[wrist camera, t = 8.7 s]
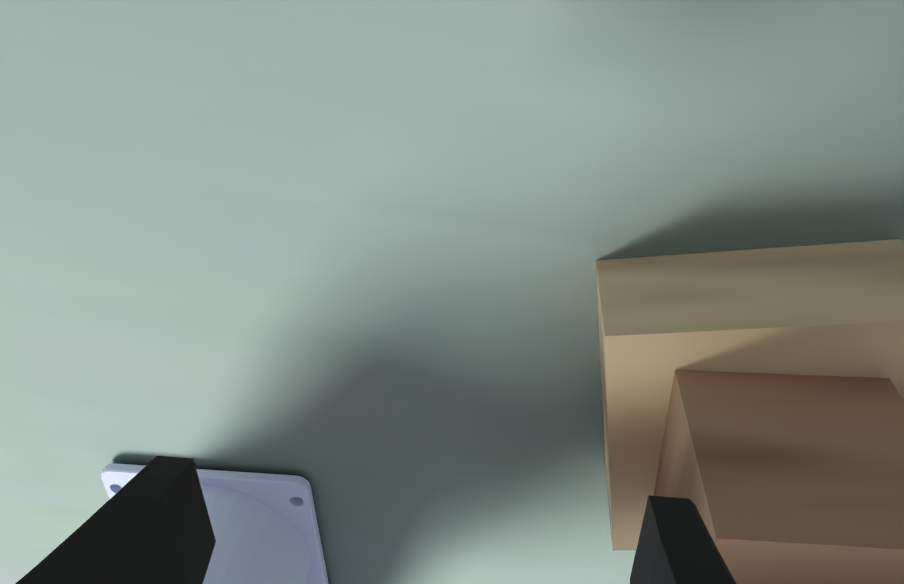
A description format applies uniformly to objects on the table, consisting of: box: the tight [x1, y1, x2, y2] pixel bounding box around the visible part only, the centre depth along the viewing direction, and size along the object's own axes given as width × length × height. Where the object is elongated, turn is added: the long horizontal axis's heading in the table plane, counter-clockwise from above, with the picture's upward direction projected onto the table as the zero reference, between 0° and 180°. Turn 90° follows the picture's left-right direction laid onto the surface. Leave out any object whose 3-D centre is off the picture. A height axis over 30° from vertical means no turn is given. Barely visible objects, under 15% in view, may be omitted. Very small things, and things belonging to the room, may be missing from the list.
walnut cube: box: [653, 370, 904, 584], centre depth 17 cm, size 5×5×5 cm
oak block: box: [596, 239, 904, 550], centre depth 21 cm, size 8×8×4 cm
